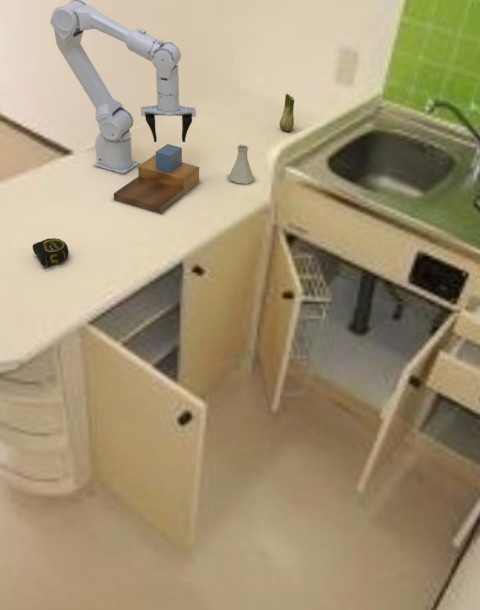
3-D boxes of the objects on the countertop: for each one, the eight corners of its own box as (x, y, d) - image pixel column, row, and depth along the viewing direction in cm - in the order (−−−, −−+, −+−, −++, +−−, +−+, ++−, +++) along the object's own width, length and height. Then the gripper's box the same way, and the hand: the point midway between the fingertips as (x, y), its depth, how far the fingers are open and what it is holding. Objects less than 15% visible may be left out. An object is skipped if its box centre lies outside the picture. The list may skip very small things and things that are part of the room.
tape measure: (33, 254, 145) (30, 240, 143) (63, 248, 149) (62, 234, 147) (41, 270, 141) (39, 256, 139) (73, 263, 145) (71, 249, 142)
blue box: (156, 168, 176) (155, 151, 173) (167, 160, 181) (167, 143, 178) (170, 172, 175) (170, 155, 172) (181, 164, 180) (181, 147, 177)
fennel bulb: (292, 133, 220) (296, 99, 213) (278, 131, 220) (281, 97, 213) (293, 127, 225) (297, 93, 218) (279, 125, 225) (282, 91, 217)
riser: (113, 200, 169) (112, 182, 167) (155, 170, 186) (155, 154, 183) (161, 213, 167) (160, 196, 164) (199, 182, 183) (199, 166, 180)
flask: (249, 186, 185) (251, 154, 179) (225, 181, 186) (226, 149, 180) (256, 176, 191) (258, 144, 185) (233, 171, 192) (234, 139, 186)
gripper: (140, 96, 166) (142, 146, 174) (196, 98, 170) (197, 146, 178) (139, 87, 171) (142, 136, 179) (194, 88, 175) (194, 136, 183)
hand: (169, 140), depth 179 cm, fingers open, 7 cm apart
